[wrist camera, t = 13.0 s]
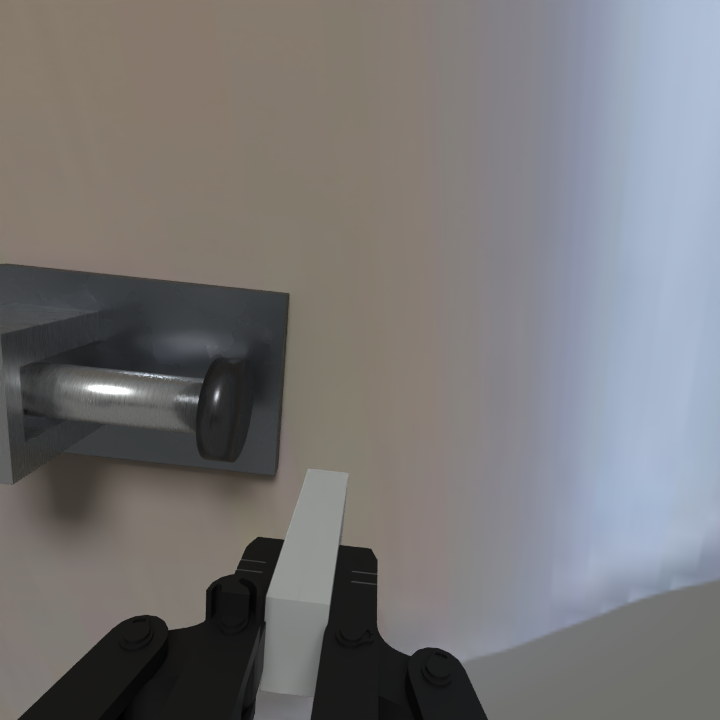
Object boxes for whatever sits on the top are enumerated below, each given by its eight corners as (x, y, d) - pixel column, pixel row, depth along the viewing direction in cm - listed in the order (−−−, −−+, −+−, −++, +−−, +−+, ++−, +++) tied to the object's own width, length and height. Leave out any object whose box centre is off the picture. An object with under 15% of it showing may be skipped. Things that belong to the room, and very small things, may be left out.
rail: (20, 439, 32) (-111, 510, 24) (6, 263, 30) (-148, 270, 21) (278, 467, 32) (241, 548, 24) (289, 293, 29) (252, 313, 21)
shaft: (-8, 409, 29) (-96, 447, 24) (-16, 320, 28) (-111, 339, 22) (251, 437, 29) (222, 481, 24) (255, 349, 28) (225, 374, 22)
